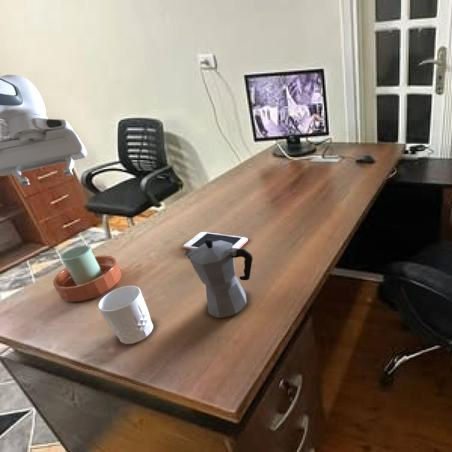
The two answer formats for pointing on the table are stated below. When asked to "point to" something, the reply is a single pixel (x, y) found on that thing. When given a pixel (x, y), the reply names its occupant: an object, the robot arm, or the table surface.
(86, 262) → the cup
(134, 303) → the white cup
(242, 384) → the table surface
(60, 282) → the bowl
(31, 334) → the table surface
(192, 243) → the cell phone
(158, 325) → the table surface
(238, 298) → the coffeepot
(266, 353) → the table surface
